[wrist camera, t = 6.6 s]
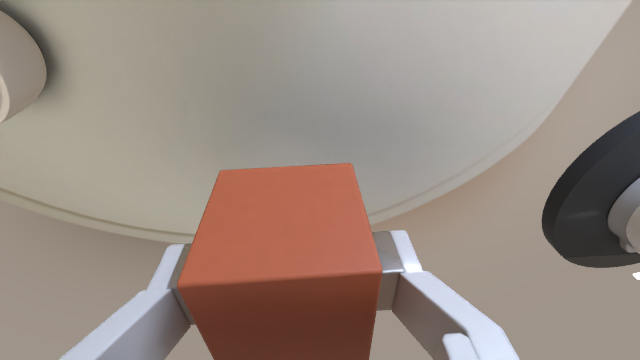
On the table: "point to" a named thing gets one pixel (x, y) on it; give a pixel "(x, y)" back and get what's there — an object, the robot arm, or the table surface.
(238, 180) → the block
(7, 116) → the teacup
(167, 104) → the table surface
